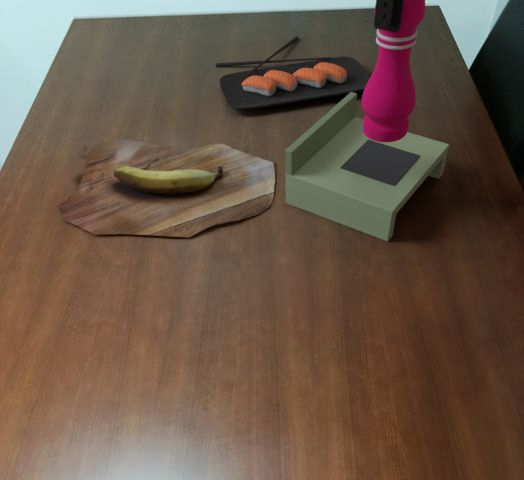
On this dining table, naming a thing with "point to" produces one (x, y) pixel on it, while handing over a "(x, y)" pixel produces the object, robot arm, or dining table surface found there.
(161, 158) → the cutting board
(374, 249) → the dining table surface
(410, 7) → the pepper mill
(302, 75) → the sushi plate
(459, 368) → the dining table surface
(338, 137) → the shelf
